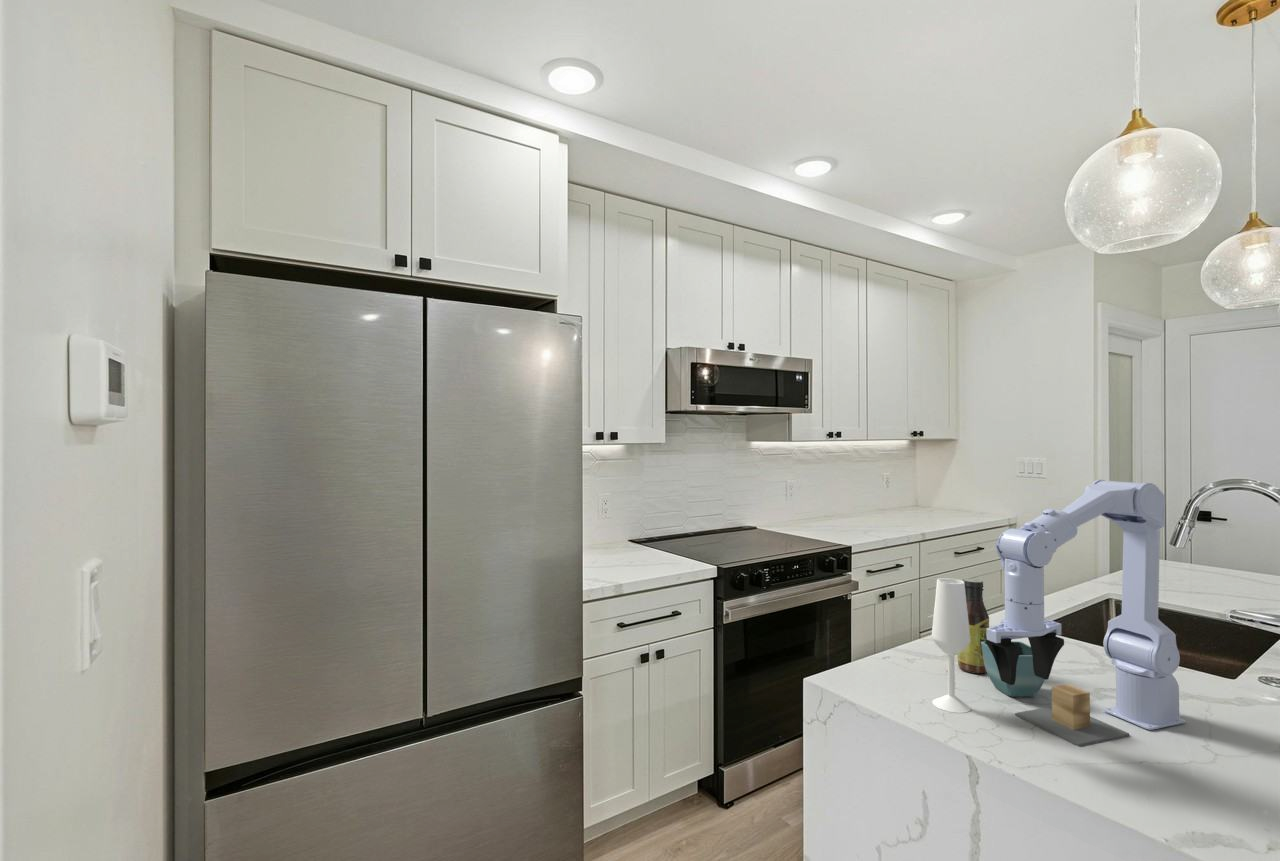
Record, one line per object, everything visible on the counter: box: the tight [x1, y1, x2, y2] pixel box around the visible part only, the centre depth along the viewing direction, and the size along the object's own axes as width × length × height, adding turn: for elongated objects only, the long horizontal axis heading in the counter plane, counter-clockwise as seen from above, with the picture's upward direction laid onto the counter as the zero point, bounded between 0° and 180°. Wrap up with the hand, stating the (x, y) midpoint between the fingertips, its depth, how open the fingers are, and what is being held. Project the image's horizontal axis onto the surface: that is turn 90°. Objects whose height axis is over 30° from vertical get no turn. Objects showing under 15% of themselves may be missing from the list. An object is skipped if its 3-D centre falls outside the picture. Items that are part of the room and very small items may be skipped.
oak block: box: [1051, 683, 1091, 730], centre depth 110 cm, size 4×4×6 cm
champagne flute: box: [931, 577, 972, 714], centre depth 118 cm, size 7×7×24 cm
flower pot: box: [981, 640, 1045, 697], centre depth 124 cm, size 9×9×9 cm
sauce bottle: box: [957, 578, 990, 674], centre depth 136 cm, size 7×6×20 cm
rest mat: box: [1014, 706, 1130, 747], centre depth 110 cm, size 12×12×1 cm
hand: (1024, 680), depth 104 cm, fingers open, 7 cm apart
